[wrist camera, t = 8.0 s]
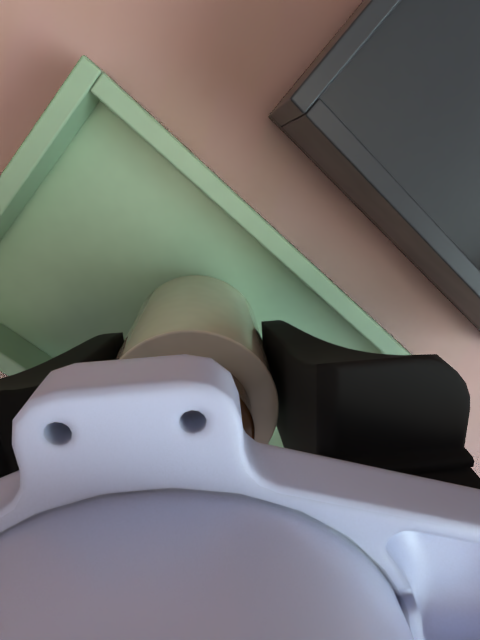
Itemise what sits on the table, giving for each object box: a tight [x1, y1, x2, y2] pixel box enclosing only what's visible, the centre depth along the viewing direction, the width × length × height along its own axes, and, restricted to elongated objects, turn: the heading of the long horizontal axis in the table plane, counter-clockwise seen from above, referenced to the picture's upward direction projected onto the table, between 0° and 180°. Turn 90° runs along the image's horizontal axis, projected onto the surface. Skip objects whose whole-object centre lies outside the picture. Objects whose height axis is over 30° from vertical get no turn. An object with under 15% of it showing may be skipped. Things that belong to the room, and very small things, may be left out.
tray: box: [0, 55, 412, 448], centre depth 15 cm, size 15×9×2 cm, turn 49°
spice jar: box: [115, 275, 279, 444], centre depth 12 cm, size 4×4×6 cm
